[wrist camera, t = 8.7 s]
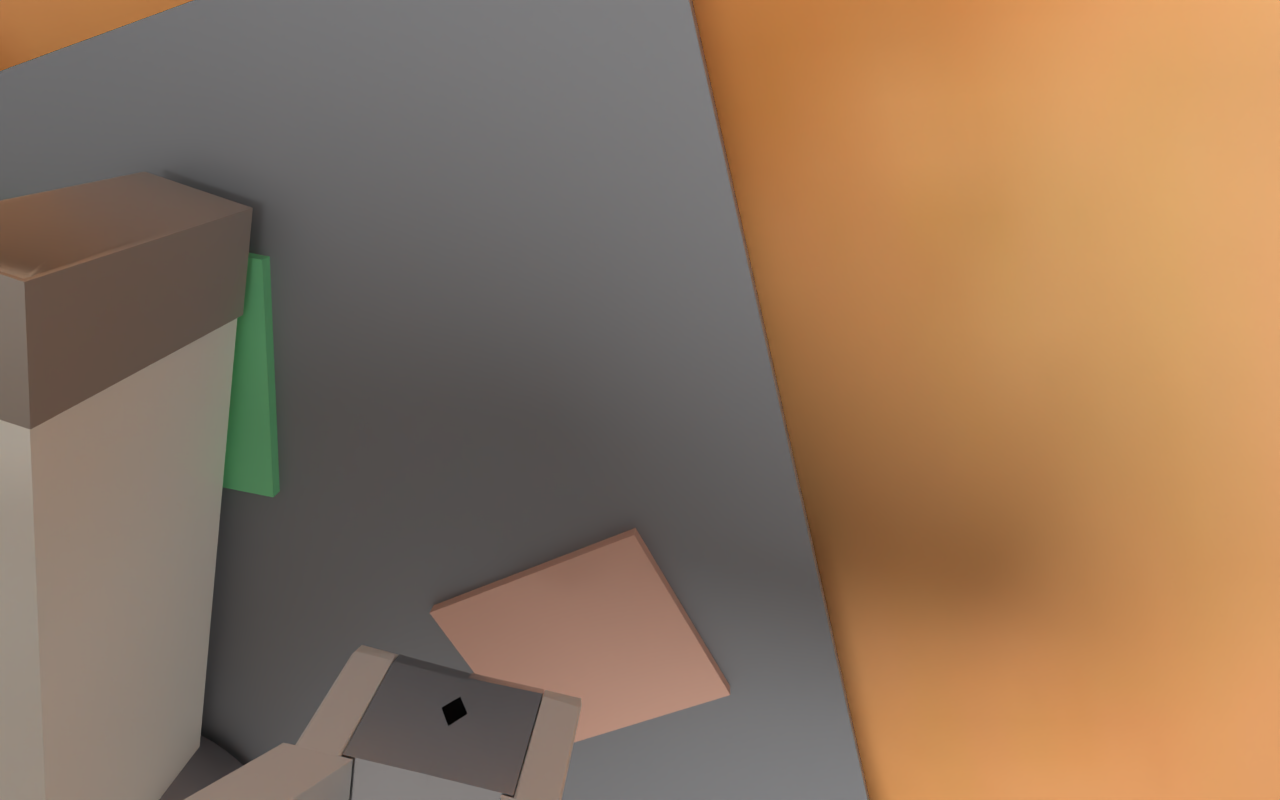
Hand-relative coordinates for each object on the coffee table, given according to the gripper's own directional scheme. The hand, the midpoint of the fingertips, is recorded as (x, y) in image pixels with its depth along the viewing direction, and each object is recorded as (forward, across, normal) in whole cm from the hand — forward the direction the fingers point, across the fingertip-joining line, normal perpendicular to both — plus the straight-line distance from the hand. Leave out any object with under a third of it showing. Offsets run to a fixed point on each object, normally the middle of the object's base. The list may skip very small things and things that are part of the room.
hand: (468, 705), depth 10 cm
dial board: (+4, +6, +3) cm, 9 cm away
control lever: (+3, +6, +2) cm, 7 cm away
